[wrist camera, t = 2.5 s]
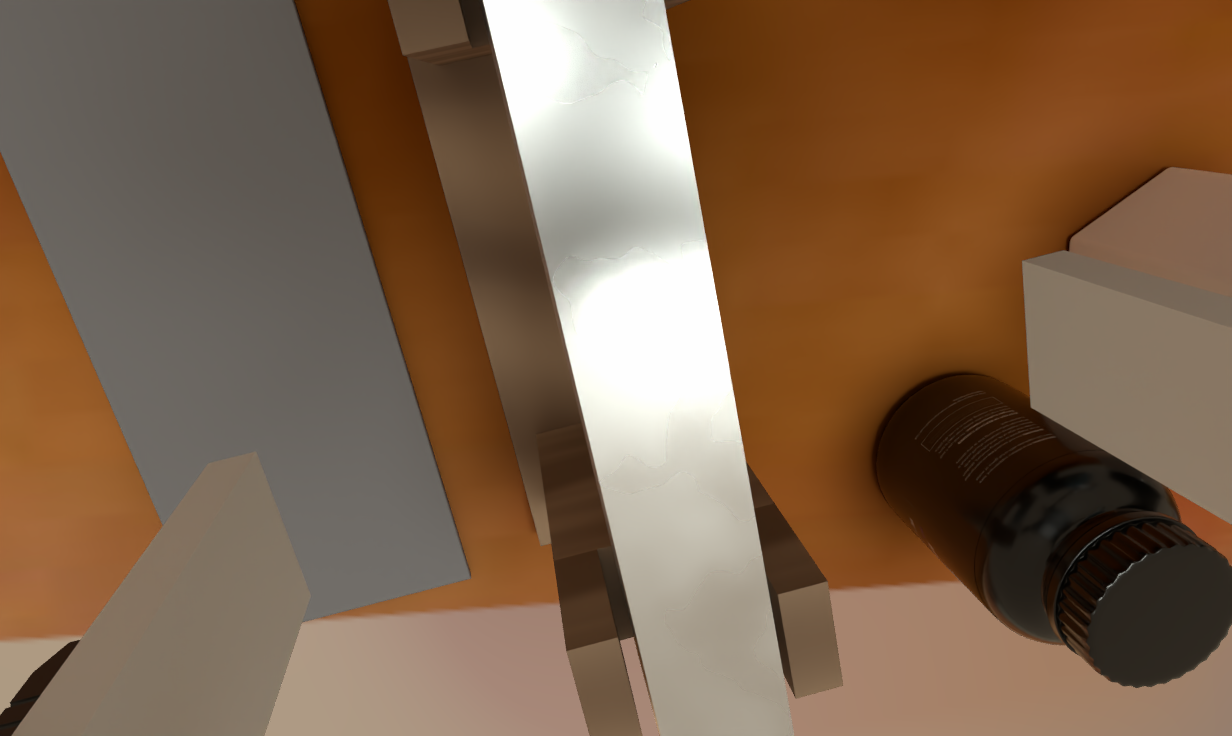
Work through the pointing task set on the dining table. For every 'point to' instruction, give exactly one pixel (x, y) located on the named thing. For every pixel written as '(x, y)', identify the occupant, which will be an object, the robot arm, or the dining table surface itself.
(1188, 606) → the supplement bottle
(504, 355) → the stand
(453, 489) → the dining table surface
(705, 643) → the rail
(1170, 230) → the jar
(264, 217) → the mat
